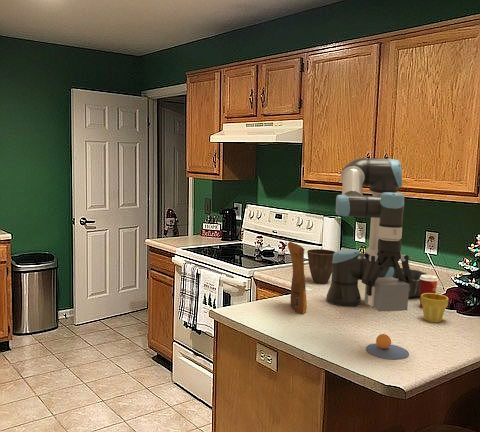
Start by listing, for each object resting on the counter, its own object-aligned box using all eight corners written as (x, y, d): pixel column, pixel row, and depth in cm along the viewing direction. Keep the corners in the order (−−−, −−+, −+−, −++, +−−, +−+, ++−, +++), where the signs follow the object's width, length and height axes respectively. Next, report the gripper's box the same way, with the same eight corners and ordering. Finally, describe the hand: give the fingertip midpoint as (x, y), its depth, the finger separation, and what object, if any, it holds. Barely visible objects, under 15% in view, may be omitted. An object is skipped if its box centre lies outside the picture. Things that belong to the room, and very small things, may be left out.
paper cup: (437, 310, 224) (439, 278, 222) (418, 309, 225) (421, 277, 224) (434, 305, 232) (436, 274, 230) (416, 304, 233) (418, 273, 231)
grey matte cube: (364, 302, 179) (366, 277, 178) (391, 301, 182) (392, 277, 181) (379, 311, 169) (381, 285, 168) (407, 310, 172) (409, 284, 171)
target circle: (358, 345, 180) (358, 344, 180) (394, 342, 183) (394, 342, 183) (379, 361, 166) (379, 360, 166) (417, 358, 170) (417, 357, 170)
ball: (382, 343, 173) (377, 352, 176) (395, 342, 174) (390, 351, 177) (376, 331, 177) (371, 340, 180) (389, 330, 178) (384, 340, 181)
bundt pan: (441, 296, 249) (442, 275, 248) (406, 303, 234) (407, 282, 233) (395, 283, 270) (397, 265, 269) (361, 290, 255) (362, 270, 254)
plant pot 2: (443, 325, 204) (445, 301, 203) (416, 320, 209) (418, 296, 208) (448, 319, 213) (450, 295, 212) (422, 314, 218) (424, 291, 217)
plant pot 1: (308, 277, 277) (309, 248, 275) (336, 280, 273) (338, 250, 271) (303, 284, 263) (305, 253, 261) (333, 287, 259) (335, 255, 257)
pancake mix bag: (293, 315, 211) (296, 247, 207) (284, 302, 230) (287, 239, 226) (309, 315, 211) (312, 247, 208) (299, 302, 230) (302, 239, 227)
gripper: (363, 241, 167) (359, 308, 169) (426, 240, 172) (421, 306, 175) (353, 237, 174) (349, 302, 176) (413, 237, 179) (409, 300, 182)
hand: (385, 304), depth 175 cm, fingers closed on grey matte cube, 10 cm apart
